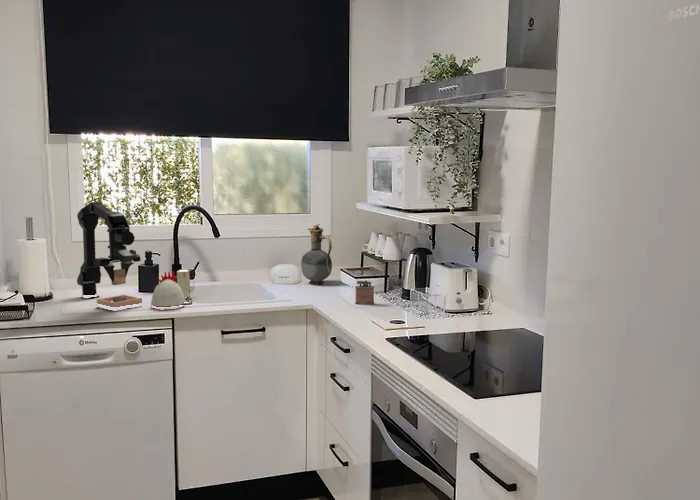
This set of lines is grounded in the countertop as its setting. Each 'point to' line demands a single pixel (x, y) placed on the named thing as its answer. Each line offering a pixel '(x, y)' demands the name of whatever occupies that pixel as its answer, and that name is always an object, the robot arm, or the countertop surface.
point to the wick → (119, 277)
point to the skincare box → (184, 281)
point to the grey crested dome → (167, 292)
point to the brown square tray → (119, 300)
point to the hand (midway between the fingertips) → (118, 280)
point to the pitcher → (317, 258)
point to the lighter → (364, 293)
